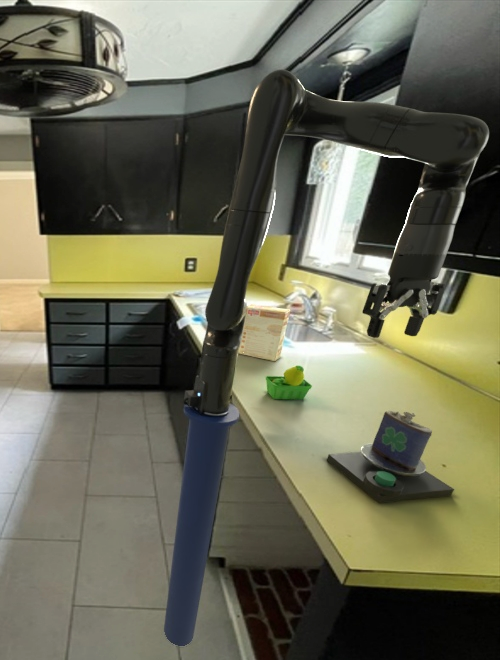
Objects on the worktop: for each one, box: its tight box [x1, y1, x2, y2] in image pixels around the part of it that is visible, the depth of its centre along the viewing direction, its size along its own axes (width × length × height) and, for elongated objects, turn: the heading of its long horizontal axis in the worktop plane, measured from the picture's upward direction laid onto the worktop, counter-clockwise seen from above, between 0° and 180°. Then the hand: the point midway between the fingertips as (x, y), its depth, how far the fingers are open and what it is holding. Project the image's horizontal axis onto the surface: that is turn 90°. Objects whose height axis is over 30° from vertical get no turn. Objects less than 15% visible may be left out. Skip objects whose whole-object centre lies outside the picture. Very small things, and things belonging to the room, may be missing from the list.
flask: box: [371, 410, 433, 470], centre depth 75 cm, size 9×3×11 cm, turn 12°
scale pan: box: [360, 442, 427, 476], centre depth 77 cm, size 11×11×1 cm
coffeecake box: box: [238, 304, 291, 362], centre depth 144 cm, size 15×7×20 cm, turn 49°
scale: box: [326, 451, 455, 504], centre depth 76 cm, size 16×14×3 cm
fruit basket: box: [265, 365, 313, 401], centre depth 110 cm, size 11×9×11 cm
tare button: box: [374, 471, 396, 487], centre depth 70 cm, size 3×3×2 cm
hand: (391, 336), depth 73 cm, fingers open, 8 cm apart
